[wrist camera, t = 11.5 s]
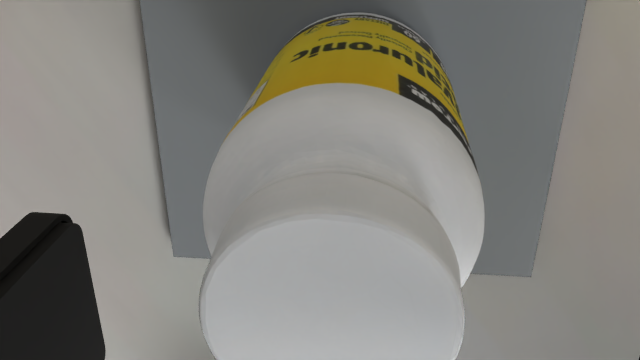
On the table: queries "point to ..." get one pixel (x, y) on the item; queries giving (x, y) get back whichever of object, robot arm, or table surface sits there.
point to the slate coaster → (452, 49)
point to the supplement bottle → (343, 204)
